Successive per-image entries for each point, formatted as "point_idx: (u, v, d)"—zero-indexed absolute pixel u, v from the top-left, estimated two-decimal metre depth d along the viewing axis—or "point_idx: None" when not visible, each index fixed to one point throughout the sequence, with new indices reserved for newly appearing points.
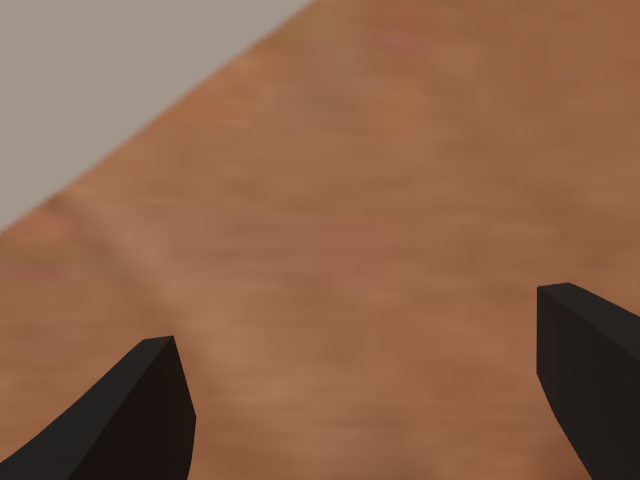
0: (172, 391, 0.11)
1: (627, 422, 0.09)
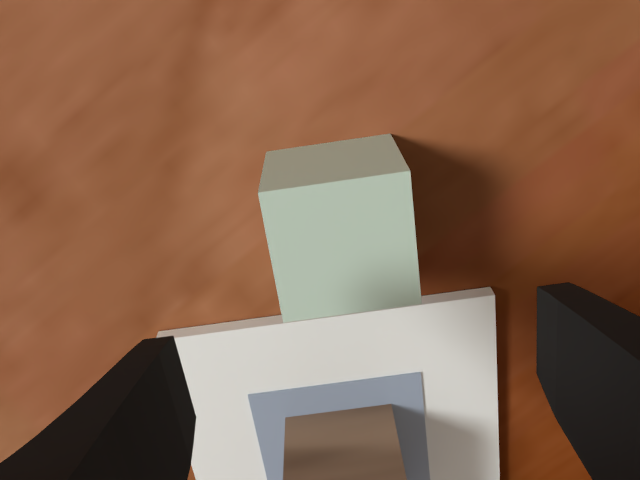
0: (172, 391, 0.11)
1: (627, 422, 0.09)
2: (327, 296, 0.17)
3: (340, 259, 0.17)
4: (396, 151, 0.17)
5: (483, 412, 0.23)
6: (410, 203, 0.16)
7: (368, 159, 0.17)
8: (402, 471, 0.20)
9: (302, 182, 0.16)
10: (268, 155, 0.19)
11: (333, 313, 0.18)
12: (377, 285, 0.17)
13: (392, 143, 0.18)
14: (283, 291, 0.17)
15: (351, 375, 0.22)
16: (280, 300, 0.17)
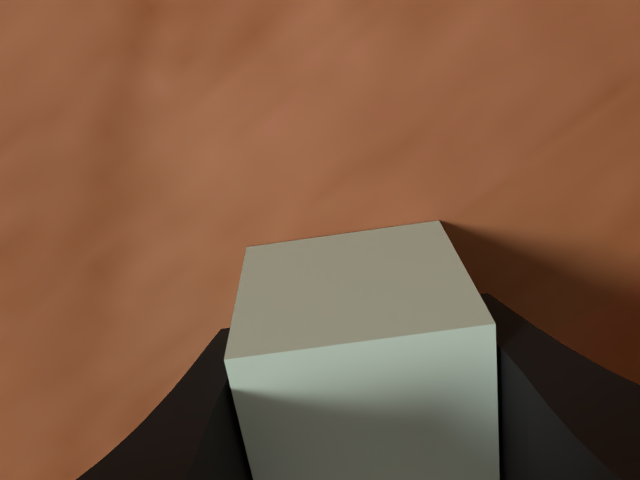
0: None
1: (521, 435, 0.09)
2: None
3: (366, 458, 0.10)
4: (458, 266, 0.11)
5: None
6: (492, 375, 0.09)
7: (413, 284, 0.10)
8: None
9: (302, 337, 0.09)
10: (249, 258, 0.12)
11: None
12: None
13: (447, 245, 0.11)
14: None
15: None
16: None
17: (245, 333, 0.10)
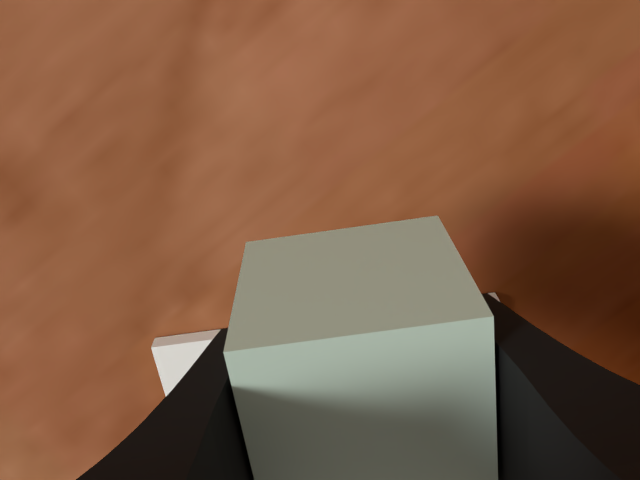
0: None
1: (520, 435, 0.09)
2: None
3: (365, 452, 0.10)
4: (457, 260, 0.11)
5: None
6: (490, 368, 0.09)
7: (412, 277, 0.10)
8: None
9: (302, 330, 0.09)
10: (248, 253, 0.12)
11: None
12: None
13: (446, 240, 0.11)
14: None
15: None
16: None
17: (244, 326, 0.10)
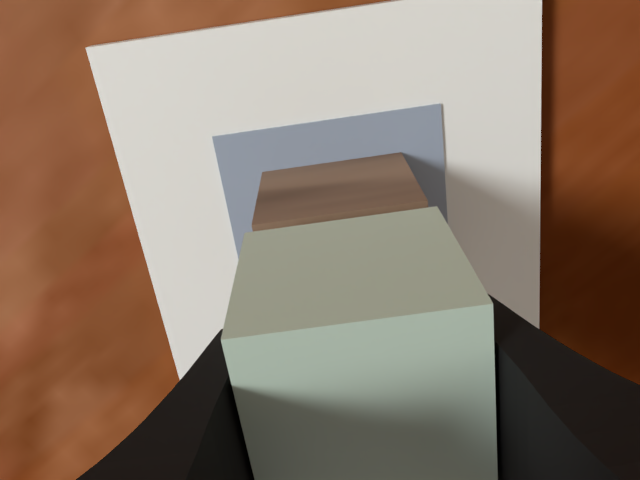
0: None
1: (520, 435, 0.09)
2: None
3: (364, 441, 0.10)
4: (456, 249, 0.11)
5: (521, 168, 0.18)
6: (490, 356, 0.09)
7: (411, 266, 0.10)
8: (418, 191, 0.14)
9: (300, 318, 0.09)
10: (246, 243, 0.12)
11: None
12: (426, 479, 0.10)
13: (445, 230, 0.11)
14: None
15: (348, 108, 0.17)
16: None
17: (242, 314, 0.10)
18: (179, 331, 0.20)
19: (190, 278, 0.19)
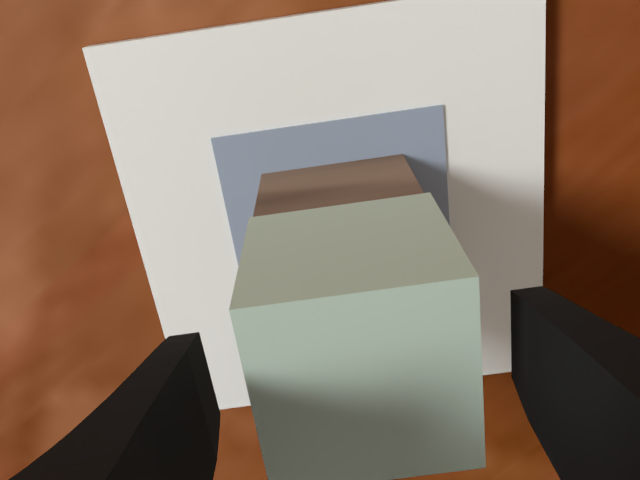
0: (199, 388, 0.11)
1: (591, 426, 0.09)
2: (340, 458, 0.11)
3: (361, 405, 0.11)
4: (446, 230, 0.11)
5: (524, 170, 0.17)
6: (476, 325, 0.10)
7: (405, 245, 0.11)
8: None
9: (301, 291, 0.10)
10: (251, 226, 0.13)
11: None
12: (418, 443, 0.11)
13: (437, 213, 0.12)
14: (271, 451, 0.11)
15: (349, 109, 0.17)
16: (266, 464, 0.11)
17: (248, 288, 0.10)
18: None
19: (188, 281, 0.19)
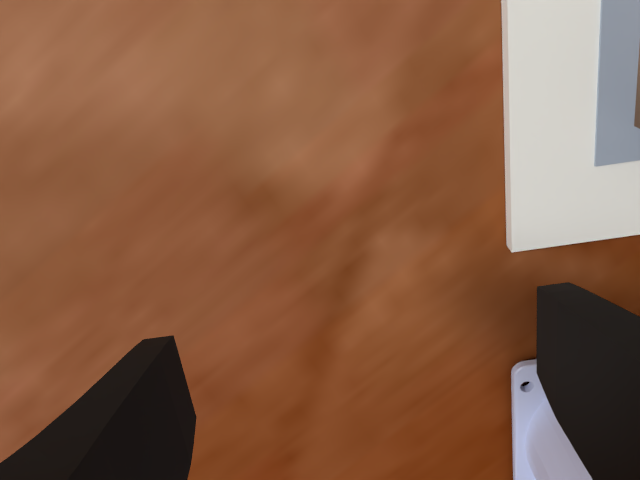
0: (172, 391, 0.11)
1: (627, 422, 0.09)
2: None
3: None
4: None
5: None
6: None
7: None
8: None
9: None
10: None
11: None
12: None
13: None
14: None
15: None
16: None
17: None
18: (523, 167, 0.20)
19: (546, 110, 0.20)
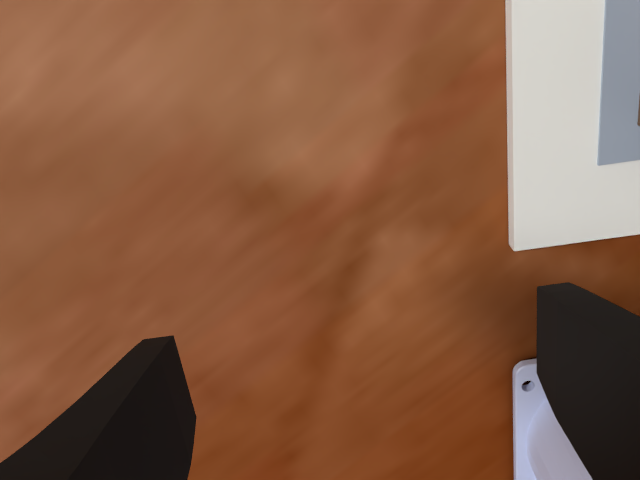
0: (172, 391, 0.11)
1: (626, 422, 0.09)
2: None
3: None
4: None
5: None
6: None
7: None
8: None
9: None
10: None
11: None
12: None
13: None
14: None
15: None
16: None
17: None
18: (526, 166, 0.20)
19: (550, 108, 0.20)
